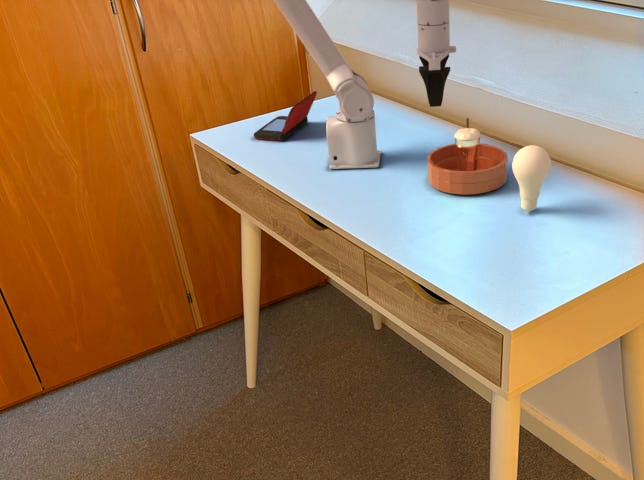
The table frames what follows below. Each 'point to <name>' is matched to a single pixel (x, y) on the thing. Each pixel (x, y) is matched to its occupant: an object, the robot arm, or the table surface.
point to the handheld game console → (287, 121)
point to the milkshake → (467, 148)
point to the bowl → (467, 182)
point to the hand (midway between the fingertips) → (435, 99)
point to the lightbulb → (530, 173)
